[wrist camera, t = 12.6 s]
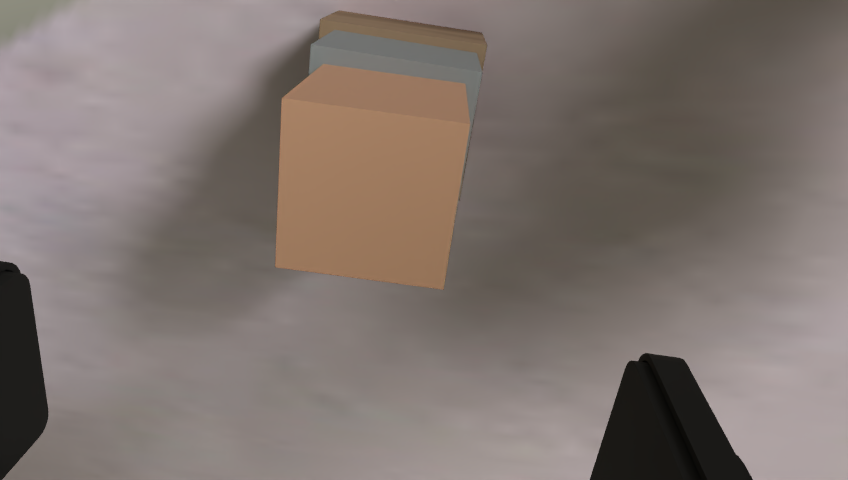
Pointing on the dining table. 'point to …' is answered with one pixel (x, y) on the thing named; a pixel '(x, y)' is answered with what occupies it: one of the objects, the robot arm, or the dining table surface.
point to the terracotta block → (370, 175)
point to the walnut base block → (406, 33)
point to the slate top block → (400, 62)
